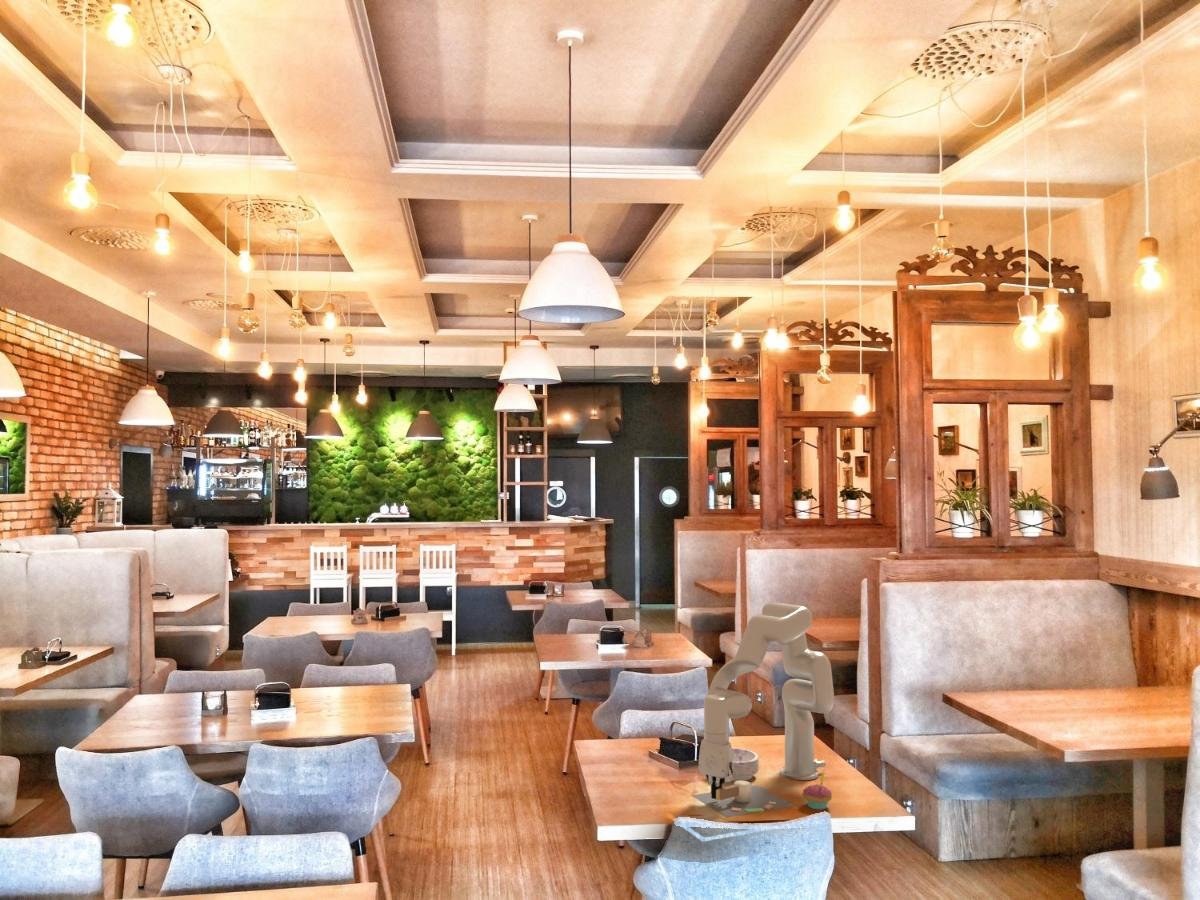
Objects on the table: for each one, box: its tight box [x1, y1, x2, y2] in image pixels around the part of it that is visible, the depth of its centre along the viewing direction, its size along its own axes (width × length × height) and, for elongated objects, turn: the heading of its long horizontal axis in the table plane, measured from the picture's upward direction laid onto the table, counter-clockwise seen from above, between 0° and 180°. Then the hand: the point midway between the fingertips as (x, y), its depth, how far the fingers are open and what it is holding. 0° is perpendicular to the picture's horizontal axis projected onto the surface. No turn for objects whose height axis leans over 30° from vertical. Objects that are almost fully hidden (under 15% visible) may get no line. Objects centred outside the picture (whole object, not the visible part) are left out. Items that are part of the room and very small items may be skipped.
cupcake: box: [802, 769, 833, 810], centre depth 277 cm, size 9×8×12 cm
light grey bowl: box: [731, 747, 760, 782], centre depth 305 cm, size 15×15×8 cm
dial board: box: [691, 785, 795, 818], centre depth 281 cm, size 24×20×1 cm
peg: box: [716, 780, 752, 803], centre depth 279 cm, size 13×5×5 cm, turn 125°
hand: (716, 797), depth 280 cm, fingers closed
